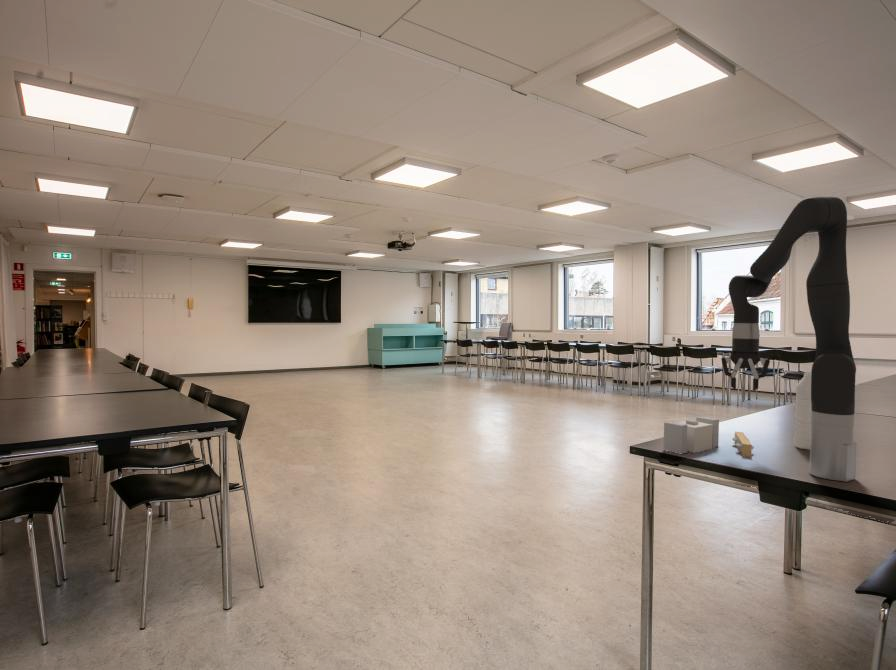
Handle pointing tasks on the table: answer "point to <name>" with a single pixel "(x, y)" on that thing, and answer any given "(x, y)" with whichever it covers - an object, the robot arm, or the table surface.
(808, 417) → the water bottle
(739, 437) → the tan wooden bar
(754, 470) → the table surface
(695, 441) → the notched grey block
